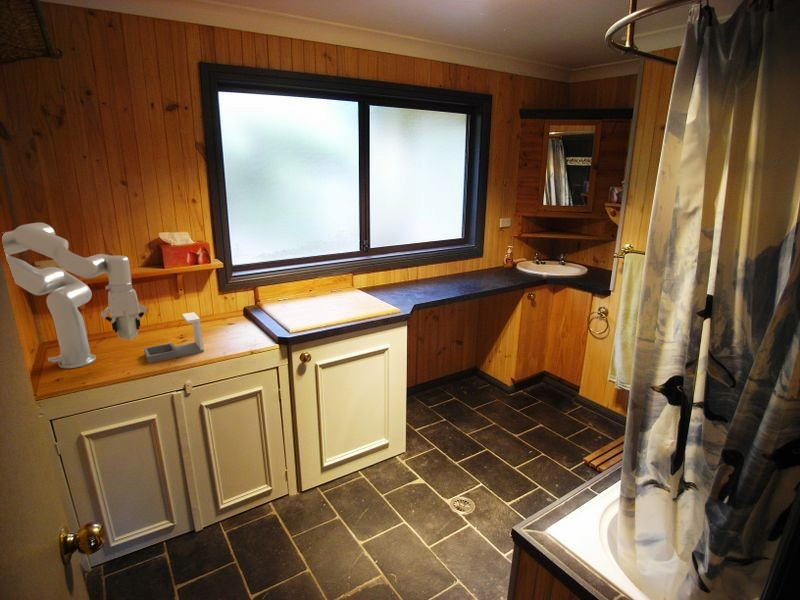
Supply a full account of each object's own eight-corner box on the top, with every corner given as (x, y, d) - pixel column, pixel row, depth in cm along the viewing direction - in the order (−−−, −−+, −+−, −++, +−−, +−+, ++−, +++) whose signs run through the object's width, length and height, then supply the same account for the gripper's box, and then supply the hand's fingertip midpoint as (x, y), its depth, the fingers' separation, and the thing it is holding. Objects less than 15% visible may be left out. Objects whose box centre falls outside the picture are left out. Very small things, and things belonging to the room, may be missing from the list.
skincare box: (138, 336, 185) (134, 308, 182) (129, 340, 181) (125, 311, 178) (126, 334, 187) (122, 306, 183) (116, 337, 183) (112, 309, 179)
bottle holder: (148, 363, 185) (142, 328, 181) (144, 354, 194) (139, 321, 190) (204, 351, 197) (199, 318, 193) (198, 343, 206) (194, 312, 202)
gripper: (95, 292, 170) (102, 336, 175) (147, 286, 180) (152, 329, 185) (94, 287, 176) (100, 330, 181) (144, 282, 186) (149, 323, 191)
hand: (126, 329), depth 183 cm, fingers closed on skincare box, 7 cm apart
